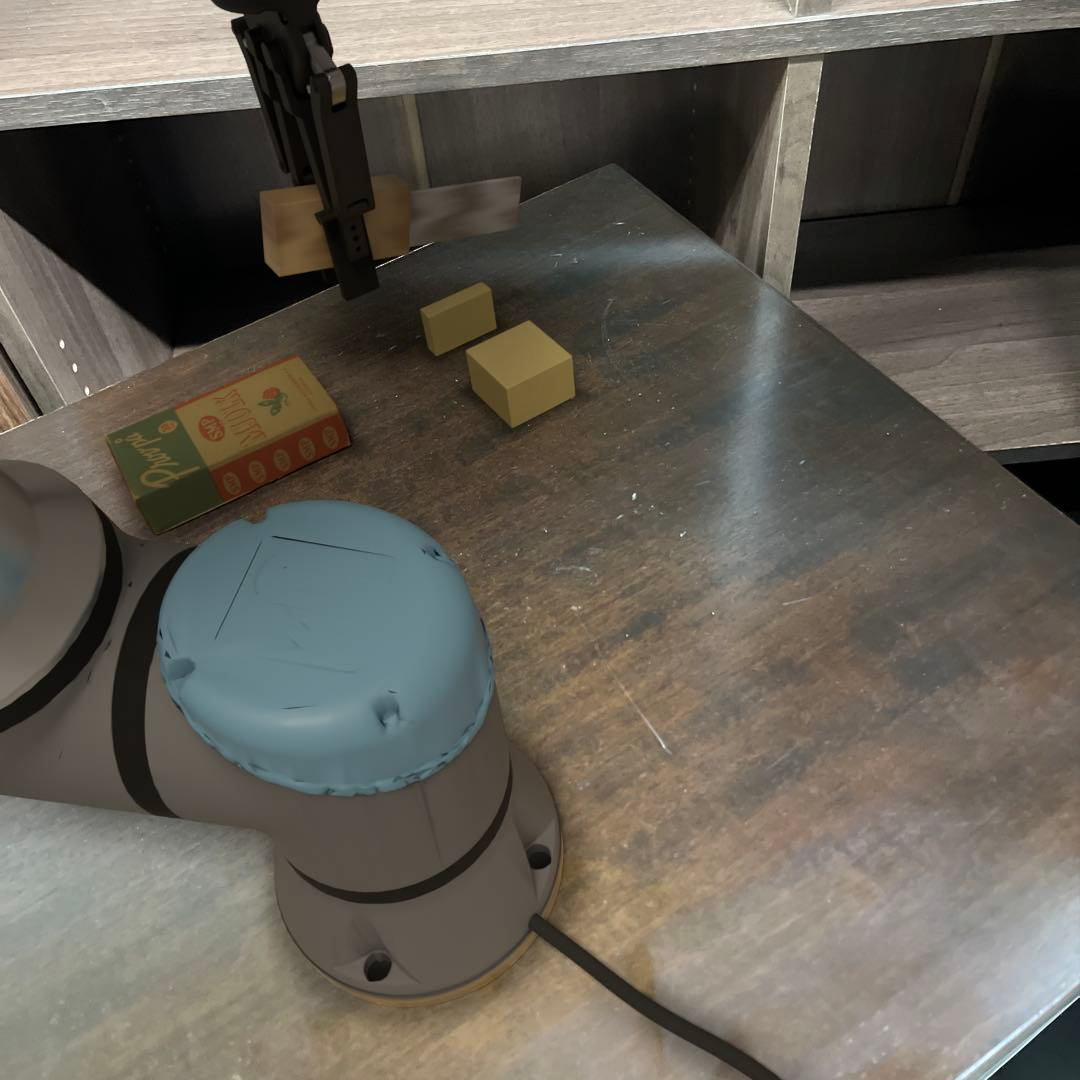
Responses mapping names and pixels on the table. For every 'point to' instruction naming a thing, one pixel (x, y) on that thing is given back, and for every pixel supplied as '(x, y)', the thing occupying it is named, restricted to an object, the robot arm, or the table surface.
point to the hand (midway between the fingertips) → (351, 282)
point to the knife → (385, 219)
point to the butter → (521, 373)
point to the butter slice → (458, 318)
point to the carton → (226, 443)
